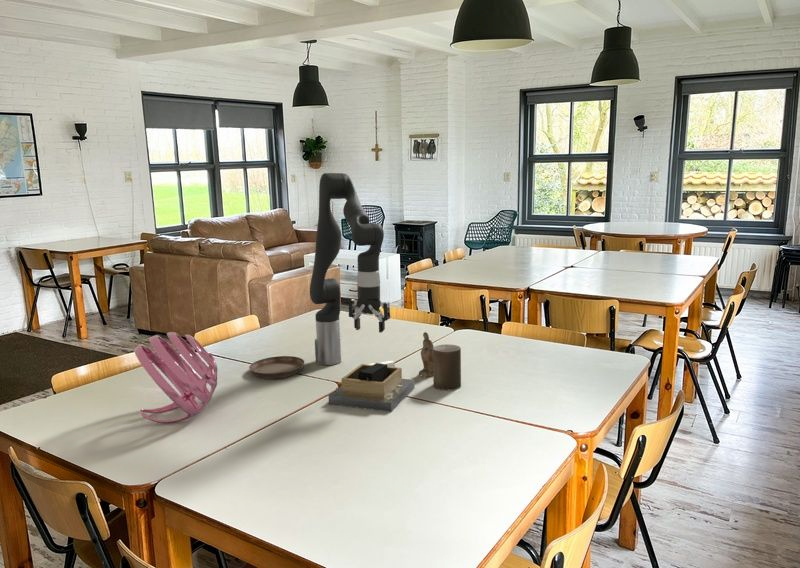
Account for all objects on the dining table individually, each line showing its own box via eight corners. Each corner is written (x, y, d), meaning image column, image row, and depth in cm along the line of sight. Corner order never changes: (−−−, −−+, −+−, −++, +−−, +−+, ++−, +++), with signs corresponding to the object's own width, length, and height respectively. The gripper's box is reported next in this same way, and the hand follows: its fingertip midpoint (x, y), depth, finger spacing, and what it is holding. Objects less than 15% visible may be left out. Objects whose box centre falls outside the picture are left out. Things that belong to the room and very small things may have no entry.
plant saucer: (239, 379, 233) (239, 371, 232) (264, 362, 253) (263, 354, 252) (292, 382, 228) (291, 374, 228) (312, 364, 248) (312, 356, 247)
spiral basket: (94, 376, 179) (173, 314, 186) (112, 369, 206) (180, 315, 213) (160, 449, 183) (235, 385, 189) (169, 433, 210) (235, 378, 216)
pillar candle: (459, 391, 215) (459, 348, 212) (431, 389, 217) (430, 347, 214) (462, 381, 225) (462, 340, 222) (435, 380, 226) (435, 339, 224)
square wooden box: (328, 404, 206) (327, 380, 205) (356, 381, 227) (355, 360, 225) (391, 411, 199) (390, 387, 197) (414, 388, 219) (414, 366, 217)
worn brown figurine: (427, 384, 230) (419, 339, 224) (417, 380, 234) (409, 336, 228) (449, 370, 237) (442, 326, 231) (439, 366, 241) (432, 323, 235)
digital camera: (374, 381, 218) (373, 361, 217) (387, 383, 215) (387, 364, 214) (358, 391, 209) (357, 371, 208) (372, 393, 206) (371, 373, 205)
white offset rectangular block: (399, 372, 237) (399, 358, 236) (396, 383, 226) (395, 367, 225) (360, 372, 239) (359, 357, 238) (354, 382, 228) (354, 367, 227)
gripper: (344, 284, 209) (345, 331, 212) (384, 287, 203) (384, 335, 207) (354, 280, 215) (355, 325, 219) (392, 283, 210) (393, 329, 214)
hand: (369, 330), depth 213 cm, fingers open, 8 cm apart
